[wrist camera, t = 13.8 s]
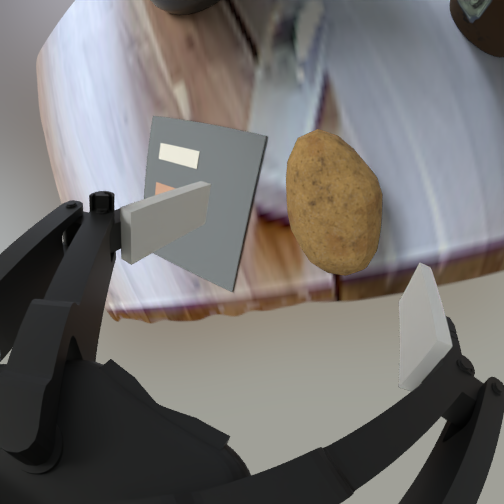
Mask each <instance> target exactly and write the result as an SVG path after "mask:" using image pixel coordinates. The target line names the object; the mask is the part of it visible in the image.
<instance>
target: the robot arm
mask: <svg viewBox="0 0 504 504" xmlns="http://www.w3.org/2000/svg"><path fill="white" fill-rule="evenodd" d="M151 1H152V2H153V3H154V5H155V6H157V7H158V8H160V9H162V10H164V11H166V12H169V13H172V14H176V15H186V14H191V13H195V12H198V11H201V10H203V9H205V8H207V7H209V6H211V5H213V4H215V3H216V2H218V1H219V0H151ZM210 188H211V184H209V183H206V182H203V181H199V182H196V183H193V184H189V185H186V186H183V187H179V188H176V189H173V190H170V191H167V192H164V193H161V194H158V195H155V196H152V197H149V198H146V199H143V200H140V201H137V202H134V203H131V204H129V205H126V206H123V207H120V209H117V210H115V211H114V193H112V192H108V191H99V192H95V193H92V194H91V195H89V201H90V212H89V213H88V212H83V203H82V202H79V201H74V200H72V201H68V202H66V203H64V204H62V205H60V206H59V207H58V208H56V209H55V210H54V211H52V212H51V213H50V214H48V215H47V216H45V217H44V218H43V219H42V220H40V221H39V222H38V223H36V224H35V225H34V226H33V227H32V228H30V229H29V230H28V231H27V232H25V233H24V234H23V235H22V236H21V237H19V238H18V239H17V240H16V241H15V242H13V243H12V244H11V245H10V246H9V247H8V248H7V249H5V251H3V252H2V253H1V254H0V361H1V360H2V359H3V358H4V357H5V356H6V355H7V354H8V352H9V351H10V350H11V349H12V351H11V353H10V356H9V360H8V363H7V364H0V504H340V503H341V502H343V501H345V500H346V499H347V498H349V497H350V496H351V495H352V494H353V493H354V491H355V490H357V489H358V488H359V487H361V486H362V485H364V484H365V483H367V482H368V481H369V480H371V479H372V478H373V477H375V476H376V475H377V474H379V473H380V472H381V471H383V470H384V469H385V468H386V467H388V466H389V465H390V464H391V463H393V462H394V461H395V460H396V459H397V458H399V457H400V456H401V455H402V454H403V453H404V452H405V451H407V450H408V449H409V448H410V447H411V446H412V445H413V444H414V443H415V442H416V441H417V440H418V439H419V438H420V437H421V436H423V434H425V433H426V432H427V431H428V430H429V429H430V428H431V427H432V425H433V424H434V423H435V422H436V421H437V420H438V419H439V418H440V417H441V416H442V417H443V418H445V419H446V420H447V422H446V424H445V426H444V428H443V430H442V432H441V434H440V436H439V439H438V440H437V442H436V444H435V447H434V448H433V450H432V452H431V454H430V455H429V457H428V459H427V461H426V463H425V464H424V466H423V468H422V469H421V471H420V472H419V474H418V476H417V477H416V479H415V480H414V482H413V483H412V485H411V486H410V488H409V489H408V491H407V492H406V494H405V495H404V497H403V498H402V499H401V501H400V502H399V504H476V503H477V501H478V498H479V496H480V494H481V491H482V489H483V486H484V483H485V481H486V478H487V475H488V472H489V469H490V466H491V463H492V460H493V456H494V453H495V449H496V446H497V442H498V438H499V434H500V429H501V424H502V419H503V413H504V385H503V383H502V382H500V381H499V380H498V379H497V378H495V377H490V378H489V379H488V380H487V381H486V382H485V383H482V382H480V381H479V380H478V379H476V378H475V377H474V374H475V370H474V367H473V365H472V363H471V362H470V361H469V359H467V358H466V357H465V356H463V355H462V354H461V349H460V345H459V341H458V337H457V334H456V329H455V326H454V324H453V322H452V321H451V319H450V318H449V317H447V316H445V312H444V309H443V305H442V301H441V298H440V295H439V291H438V288H437V285H436V282H435V279H434V276H433V273H432V270H431V267H429V266H426V265H424V264H422V263H419V265H418V267H417V269H416V271H415V273H414V275H413V277H412V278H411V280H410V282H409V284H408V286H407V288H406V290H405V292H404V293H403V295H402V297H401V299H400V301H399V321H400V364H399V386H398V387H399V388H402V389H405V390H408V391H411V392H410V393H409V394H408V395H407V396H405V397H404V398H403V399H402V400H400V401H399V402H397V403H396V404H395V405H393V406H392V407H390V408H389V409H388V410H386V411H385V412H383V413H382V414H380V415H379V416H378V417H376V418H374V419H373V420H371V421H370V422H368V423H367V424H365V425H363V426H362V427H360V428H359V429H357V430H355V431H354V432H352V433H350V434H349V435H347V436H345V437H343V438H342V439H340V440H338V441H336V442H334V443H333V444H331V445H329V446H327V447H324V448H322V447H320V448H317V449H315V450H313V451H310V452H308V453H306V454H304V455H302V456H299V457H297V458H295V459H293V460H290V461H288V462H286V463H283V464H281V465H278V466H277V467H273V468H271V469H268V470H266V471H263V472H260V473H258V474H255V475H252V476H251V474H250V472H249V470H248V468H247V466H246V465H245V463H244V462H243V460H242V459H241V458H240V456H239V455H238V454H237V453H236V452H235V451H234V450H233V449H232V448H231V447H229V446H228V445H227V443H228V440H229V438H230V436H229V435H227V434H225V433H223V432H221V431H219V430H217V429H215V428H213V427H211V426H210V425H208V424H206V423H204V422H202V421H201V420H199V419H197V418H195V417H191V416H188V415H186V414H183V413H180V412H177V411H174V410H171V409H168V408H166V407H163V406H161V405H159V404H157V403H156V402H155V401H154V400H153V399H152V397H151V396H150V395H149V394H148V393H147V392H146V390H145V389H144V388H143V387H142V386H141V385H140V383H139V382H138V381H137V380H136V379H135V377H133V376H132V375H131V374H129V373H128V372H127V371H125V370H124V369H123V368H122V367H120V366H119V365H118V364H117V363H115V362H114V361H113V360H112V359H110V360H109V361H108V362H107V363H106V364H104V365H103V364H100V363H97V362H96V352H97V346H98V345H97V344H98V339H99V333H100V327H101V322H102V316H103V311H104V306H105V301H106V297H107V292H108V288H109V284H110V279H111V275H112V271H113V267H114V263H115V260H116V251H117V250H119V249H121V257H122V259H123V260H124V261H126V262H128V263H130V264H131V265H132V264H134V263H136V262H137V261H139V260H141V259H142V258H144V257H146V256H148V255H149V254H151V253H153V252H155V251H157V250H158V249H160V248H162V247H164V246H165V245H167V244H169V243H171V242H173V241H174V240H176V239H178V238H180V237H182V236H184V235H185V234H187V233H189V232H191V231H193V230H195V229H196V228H198V227H200V226H202V225H204V224H205V221H206V214H207V207H208V200H209V194H210ZM62 235H63V239H64V242H63V243H62ZM12 347H13V348H12Z"/></svg>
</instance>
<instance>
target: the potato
mask: <svg viewBox="0 0 504 504" xmlns="http://www.w3.org/2000/svg"><path fill="white" fill-rule="evenodd" d="M286 191H287V210H288V217H289V221H290V226H291V230H292V232H293V234H294V236H295V238H296V239H297V241H298V243H299V245H300V247H301V248H302V250H303V251H304V253H305V254H306V256H307V257H308V259H309V260H310V262H311V263H313V264H315V265H316V266H318V267H319V268H321V269H323V270H324V271H326V272H328V273H333V274H339V275H344V276H346V275H349V274H352V273H355V272H358V271H361V270H363V269H365V268H366V267H367V266H368V264H369V263H370V261H371V259H372V258H373V256H374V254H375V253H376V251H377V247H378V242H379V236H380V230H381V218H382V192H381V189H380V185H379V182H378V179H377V177H376V175H375V174H374V173H373V172H372V170H371V169H370V168H369V167H368V165H367V164H366V163H365V162H364V161H363V159H362V158H361V157H360V156H359V155H358V154H357V152H356V151H355V150H354V149H353V148H352V147H351V146H350V145H348V144H347V143H346V142H345V141H344V140H342V139H341V138H340V137H339V136H336V135H334V134H331V133H328V132H325V131H322V130H319V129H317V130H315V131H313V132H310V133H308V134H306V135H304V136H301V137H299V138H298V139H297V141H296V143H295V146H294V148H293V150H292V152H291V154H290V157H289V159H288V162H287V174H286Z"/></svg>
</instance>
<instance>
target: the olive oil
mask: <svg viewBox="0 0 504 504" xmlns="http://www.w3.org/2000/svg"><path fill="white" fill-rule="evenodd" d="M450 11H451V15H452V17H453V20H454V22H455V23H456V25H457V26H458V28H459V29H460V31H461V32H462V33H463V34H464V35H465V37H466V38H467V39H468V40H469V41H470V42H472V43H473V44H474V45H475V46H477V47H478V48H479V49H481V50H482V51H484V52H486V53H488V54H490V55H493V56H496V57H504V0H450Z"/></svg>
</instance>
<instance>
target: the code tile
mask: <svg viewBox="0 0 504 504" xmlns="http://www.w3.org/2000/svg"><path fill="white" fill-rule="evenodd" d="M266 138H267V136H263V135H259V134H255V133H251V132H246V131H242V130H237V129H232V128H227V127H222V126H217V125H212V124H206V123H200V122H194V121H188V120H181V119H174V118H167V117H159V116H153V118H152V125H151V132H150V139H149V147H148V156H147V166H146V177H145V189H144V199H146V198H149V197H152V196H155V195H158V194H161V193H164V192H167V191H170V190H173V189H176V188H179V187H183V186H186V185H189V184H193V183H196V182H199V181H203V182H206V183H209V184H211V188H210V194H209V200H208V207H207V214H206V221H205V224H204V225H202V226H200V227H198V228H196V229H195V230H193V231H191V232H189V233H187V234H185V235H184V236H182V237H180V238H178V239H176V240H174V241H173V242H171V243H169V244H167V245H165V246H164V247H162V248H160V249H158V250H157V251H155V252H153V253H154V254H156V255H158V256H160V257H162V258H164V259H166V260H168V261H170V262H172V263H174V264H176V265H178V266H180V267H182V268H184V269H186V270H188V271H190V272H192V273H194V274H196V275H198V276H200V277H202V278H204V279H206V280H208V281H210V282H212V283H214V284H216V285H218V286H220V287H222V288H225V289H227V290H229V291H231V292H232V291H233V288H234V283H235V278H236V274H237V269H238V264H239V260H240V255H241V250H242V246H243V241H244V236H245V232H246V227H247V223H248V218H249V214H250V209H251V205H252V200H253V195H254V191H255V186H256V182H257V178H258V173H259V169H260V164H261V160H262V155H263V151H264V146H265V142H266Z"/></svg>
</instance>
